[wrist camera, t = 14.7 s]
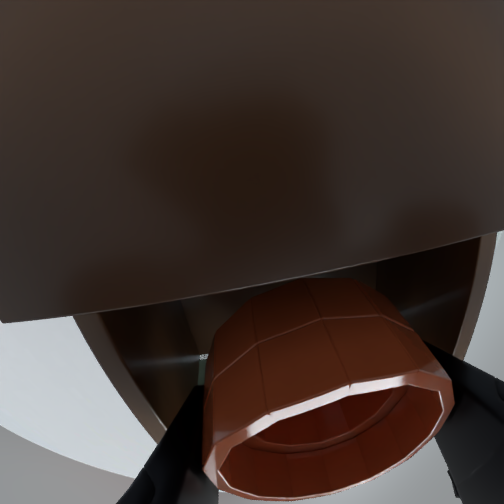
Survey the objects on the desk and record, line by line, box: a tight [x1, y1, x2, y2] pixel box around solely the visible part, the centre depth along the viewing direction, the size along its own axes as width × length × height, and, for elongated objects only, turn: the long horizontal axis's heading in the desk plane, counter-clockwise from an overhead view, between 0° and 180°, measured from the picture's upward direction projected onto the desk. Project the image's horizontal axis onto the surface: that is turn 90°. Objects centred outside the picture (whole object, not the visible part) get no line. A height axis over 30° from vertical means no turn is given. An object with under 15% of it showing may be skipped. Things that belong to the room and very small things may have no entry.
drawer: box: [73, 232, 497, 444], centre depth 12 cm, size 18×12×8 cm
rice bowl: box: [202, 278, 455, 501], centre depth 8 cm, size 6×6×4 cm
